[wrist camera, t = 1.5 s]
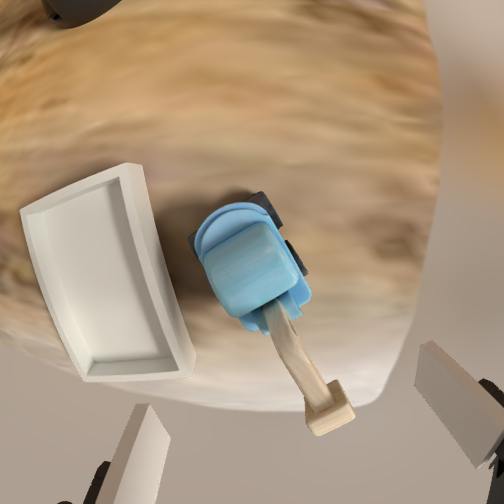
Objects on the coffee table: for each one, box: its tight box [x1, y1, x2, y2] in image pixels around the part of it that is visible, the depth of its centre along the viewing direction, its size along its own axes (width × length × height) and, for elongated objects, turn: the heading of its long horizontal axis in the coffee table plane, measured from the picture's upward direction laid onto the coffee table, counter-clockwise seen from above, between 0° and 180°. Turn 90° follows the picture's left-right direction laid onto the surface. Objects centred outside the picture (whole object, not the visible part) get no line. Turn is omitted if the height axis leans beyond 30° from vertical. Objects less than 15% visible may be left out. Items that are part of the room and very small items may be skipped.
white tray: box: [20, 162, 196, 382], centre depth 27 cm, size 22×15×6 cm
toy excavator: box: [188, 191, 356, 436], centre depth 21 cm, size 9×17×17 cm, turn 30°
